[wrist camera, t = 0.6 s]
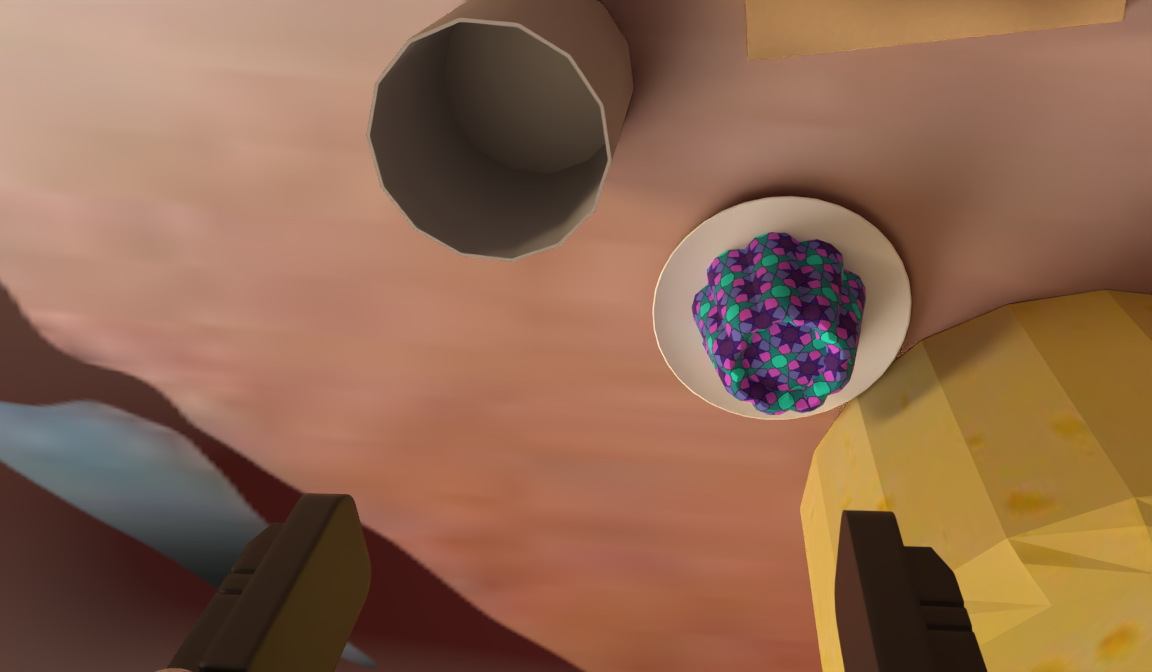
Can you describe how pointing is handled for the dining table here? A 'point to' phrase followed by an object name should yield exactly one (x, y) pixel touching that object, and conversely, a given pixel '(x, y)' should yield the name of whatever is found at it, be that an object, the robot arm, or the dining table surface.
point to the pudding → (781, 307)
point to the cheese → (1011, 479)
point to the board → (904, 22)
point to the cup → (502, 123)
